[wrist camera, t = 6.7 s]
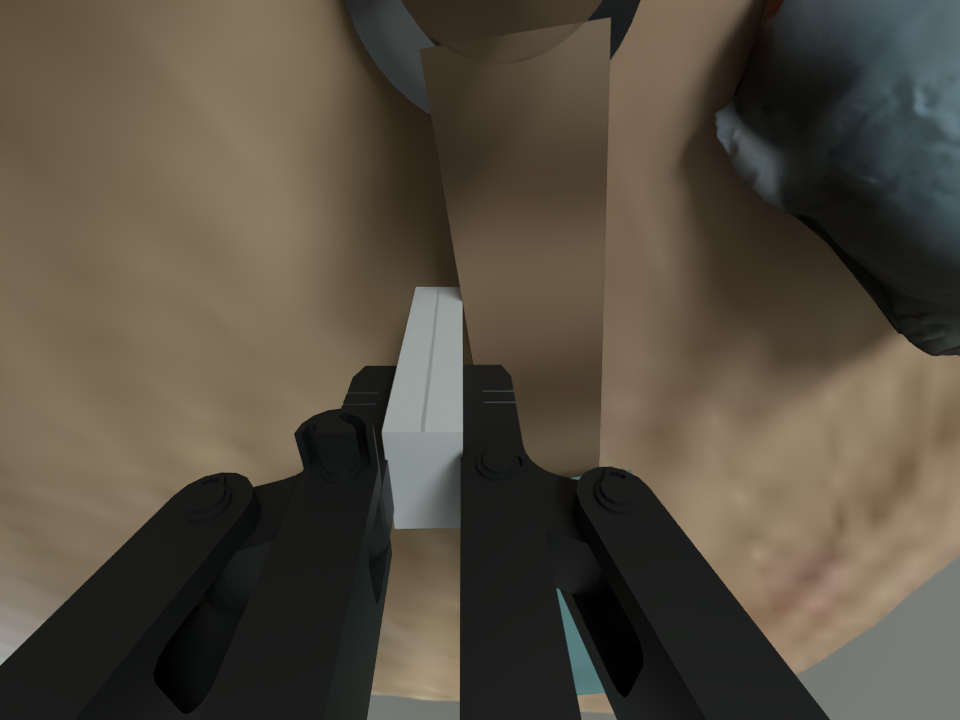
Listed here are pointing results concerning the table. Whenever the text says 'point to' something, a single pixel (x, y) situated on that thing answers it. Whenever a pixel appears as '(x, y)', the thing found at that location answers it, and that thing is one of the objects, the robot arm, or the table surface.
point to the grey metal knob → (400, 39)
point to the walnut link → (527, 201)
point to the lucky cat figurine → (863, 145)
